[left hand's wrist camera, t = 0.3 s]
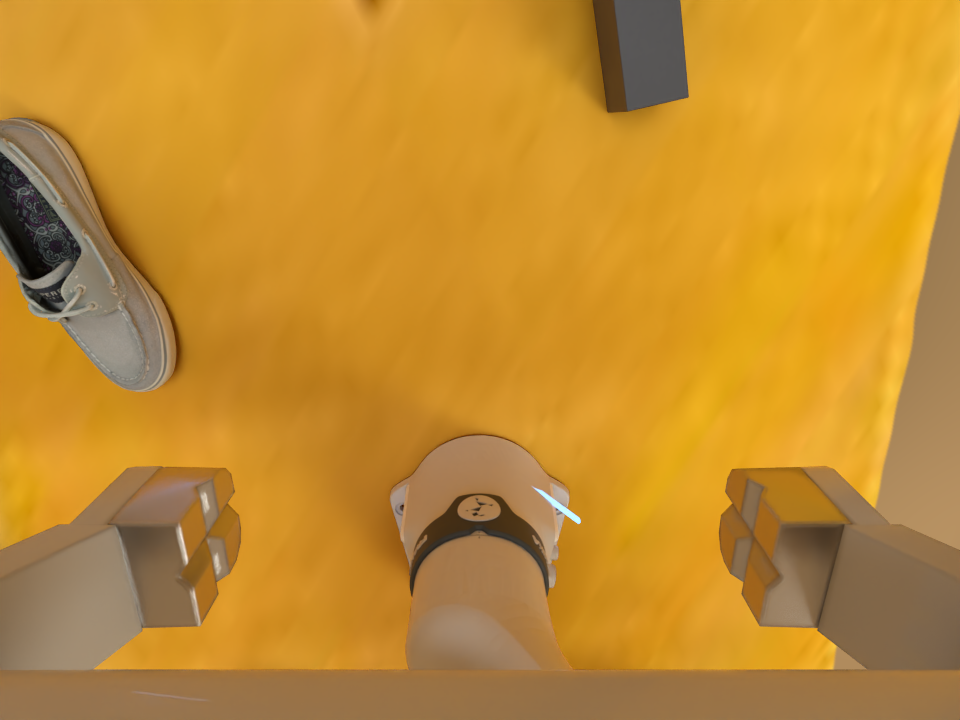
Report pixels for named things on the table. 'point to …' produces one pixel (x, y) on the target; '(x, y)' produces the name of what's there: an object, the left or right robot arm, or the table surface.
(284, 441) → the table surface
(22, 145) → the boat shoe
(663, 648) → the table surface
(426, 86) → the table surface
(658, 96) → the bar
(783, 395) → the table surface
